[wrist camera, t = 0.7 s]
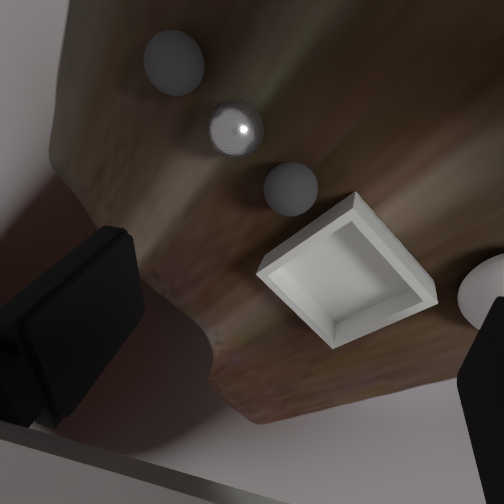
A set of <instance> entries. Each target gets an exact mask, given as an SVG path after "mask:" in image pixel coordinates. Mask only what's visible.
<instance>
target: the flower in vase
mask: <svg viewBox="0 0 504 504" xmlns="http://www.w3.org/2000/svg"><path fill="white" fill-rule="evenodd" d="M498 296H503V297H504V253H503V254H500V255H497V256H494V257H492V258H490V259H488V260H486V261H484V262H482V263H481V264H479V265H478V266H477V267H475V268H474V269H473V270H472V271H471V272H470V273H469V274H468V275H467V276H466V277H465V279H464V280H463V282H462V283H461V285H460V288H459V291H458V305H459V308H460V311H461V313H462V314H463V316H464V317H465V318H466V319H467V320H468V321H469V322H470V323H471V324H472V325H473V326H474V327H475V328H477V329H478V330H480V328H481V326H482V324H483V322H484V320H485V318H486V316H487V314H488V312H489V310H490V308H491V306H492V304H493V302H494V300H495V299H496V298H497V297H498Z"/></svg>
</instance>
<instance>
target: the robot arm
mask: <svg viewBox="0 0 504 504" xmlns="http://www.w3.org/2000/svg"><path fill="white" fill-rule="evenodd" d="M143 315H144V301H143V295H142V289H141V283H140V277H139V271H138V266H137V260H136V254H135V248H134V242H133V238H132V236H131V235H129V234H128V232H127V231H126V230H125V229H124V228H118V227H112V226H103V227H101V228H100V229H98V230H97V231H96V232H95V233H93V234H92V235H91V236H90V237H88V238H87V239H86V240H85V241H83V242H82V243H81V244H80V245H78V246H77V247H76V248H75V249H73V250H72V251H71V252H70V253H68V254H67V255H66V256H65V257H63V258H62V259H61V260H60V261H58V262H57V263H56V264H55V265H53V266H52V267H51V268H50V269H48V270H47V271H46V272H45V273H44V274H42V275H41V276H40V277H38V278H37V279H36V280H35V281H33V282H32V283H31V284H30V285H28V286H27V287H26V288H25V289H24V290H22V291H21V292H20V293H18V294H17V295H16V296H15V297H13V298H12V299H11V300H10V301H8V302H7V303H6V304H5V305H3V306H2V307H1V308H0V504H288V503H284V502H281V501H277V500H274V499H271V498H267V497H264V496H260V495H257V494H254V493H250V492H247V491H244V490H240V489H237V488H233V487H230V486H227V485H223V484H220V483H216V482H213V481H209V480H206V479H203V478H199V477H196V476H193V475H189V474H186V473H182V472H179V471H176V470H172V469H169V468H165V467H162V466H158V465H155V464H152V463H148V462H145V461H141V460H138V459H134V458H131V457H127V456H124V455H120V454H117V453H114V452H110V451H107V450H103V449H99V448H96V447H93V446H89V445H86V444H82V443H79V442H75V441H72V440H69V439H65V438H62V437H58V436H54V435H51V434H47V433H44V432H41V431H37V430H33V429H29V427H30V425H31V424H32V423H33V422H34V421H36V423H38V424H41V425H45V426H48V427H52V428H56V427H57V425H58V424H59V423H60V422H61V420H62V419H63V418H64V417H67V416H69V415H71V414H72V412H73V411H74V410H75V409H76V407H77V406H78V405H79V403H80V402H81V401H82V399H83V398H84V396H85V395H86V394H87V392H88V391H89V390H90V388H91V387H92V385H93V384H94V383H95V382H96V380H97V379H98V377H99V376H100V375H101V374H102V372H103V371H104V369H105V368H106V367H107V365H108V364H109V363H110V361H111V360H112V359H113V357H114V356H115V355H116V353H117V352H118V350H119V349H120V347H121V346H122V345H123V344H124V342H125V341H126V340H127V338H128V337H129V336H130V334H131V333H132V332H133V330H134V329H135V327H136V326H137V325H138V323H139V322H140V321H141V319H142V317H143ZM457 388H458V392H459V396H460V400H461V404H462V408H463V412H464V416H465V420H466V424H467V428H468V432H469V435H470V439H471V444H472V448H473V452H474V456H475V460H476V464H477V468H478V472H479V476H480V480H481V484H482V488H483V492H484V496H485V500H486V504H504V297H503V296H498V297H497V298H496V299H495V300H494V302H493V304H492V306H491V308H490V310H489V312H488V314H487V316H486V318H485V320H484V322H483V324H482V326H481V328H480V330H479V332H478V334H477V336H476V338H475V340H474V342H473V344H472V346H471V348H470V350H469V352H468V354H467V356H466V358H465V360H464V362H463V364H462V366H461V368H460V370H459V372H458V376H457Z"/></svg>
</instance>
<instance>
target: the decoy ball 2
mask: <svg viewBox="0 0 504 504" xmlns="http://www.w3.org/2000/svg"><path fill="white" fill-rule="evenodd" d="M317 194H318V183H317V179H316V177H315V175H314V173H313V172H312V171H311V170H310V169H309V168H308V167H307V166H305V165H304V164H301V163H298V162H284V163H281V164H279V165H277V166H276V167H274V168H273V169H272V170H271V171H270V172H269V174H268V175H267V177H266V180H265V183H264V196H265V199H266V201H267V203H268V205H269V206H270V207H271V209H273V210H274V211H275V212H277V213H278V214H281V215H284V216H297V215H300V214H302V213H304V212H306V211H307V210H308V209H310V208H311V206H312V205H313V204H314V202H315V200H316V198H317Z"/></svg>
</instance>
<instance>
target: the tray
mask: <svg viewBox="0 0 504 504" xmlns="http://www.w3.org/2000/svg"><path fill="white" fill-rule="evenodd" d="M256 275H257V276H258V277H259V278H260V279H261V280H262V281H263V282H264V283H265V284H266V285H267V286H268V287H269V288H270V289H271V290H272V291H273V292H275V293H276V294H277V295H278V296H279V297H280V298H281V299H282V300H283V301H284V302H285V303H286V304H287V305H288V306H289V307H290V308H291V309H292V310H293V311H294V312H295V313H296V314H297V315H298V316H299V317H300V318H301V319H302V320H303V321H304V322H305V323H306V324H307V325H308V326H309V327H310V328H311V329H313V330H314V331H315V332H316V333H317V334H318V335H319V336H320V337H321V338H322V339H323V340H324V341H325V342H326V343H327V344H328V345H329V346H330V347H331V348H332V349H334V348H336V347H339V346H341V345H343V344H346V343H348V342H350V341H353V340H355V339H357V338H360V337H362V336H364V335H366V334H369V333H371V332H373V331H376V330H378V329H380V328H383V327H385V326H387V325H390V324H392V323H394V322H397V321H399V320H401V319H404V318H406V317H408V316H411V315H413V314H415V313H418V312H420V311H422V310H424V309H427V308H429V307H431V306H434V305H436V304H438V300H437V294H436V289H435V283H434V280H433V279H432V278H431V276H430V275H429V274H428V273H427V272H426V271H425V270H424V268H423V267H422V266H421V265H420V264H419V263H418V262H417V260H416V259H415V258H414V257H413V256H412V255H411V254H410V253H409V251H408V250H407V249H406V248H405V247H404V246H403V245H402V243H401V242H400V241H399V240H398V239H397V238H396V237H395V235H394V234H393V233H392V232H391V231H390V230H389V229H388V227H387V226H386V225H385V224H384V223H383V222H382V221H381V219H380V218H379V217H378V216H377V215H376V214H375V213H374V211H373V210H372V209H371V208H370V207H369V206H368V205H367V203H366V202H365V201H364V200H363V199H362V198H361V197H360V195H359V194H358V193H357V192H356V191H355V192H353V193H352V194H351V195H349V196H348V197H346V198H345V199H344V200H342V201H341V202H339V203H338V204H336V205H335V206H334V207H332V208H331V209H329V210H328V211H327V212H325V213H324V214H322V215H321V216H320V217H318V218H317V219H315V220H314V221H312V222H311V223H310V224H308V225H307V226H305V227H304V228H303V229H301V230H300V231H298V232H297V233H296V234H294V235H293V236H291V237H290V238H288V239H287V240H286V241H284V242H283V243H281V244H280V245H279V246H277V247H276V248H274V249H273V250H272V251H270V252H269V253H267V254H266V255H264V257H263V260H262V262H261V264H260V266H259V268H258V270H257V272H256Z"/></svg>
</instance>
